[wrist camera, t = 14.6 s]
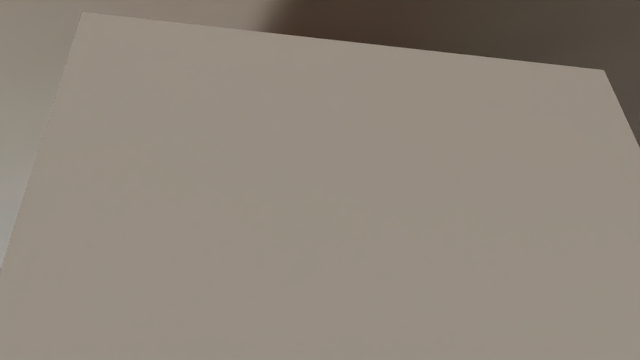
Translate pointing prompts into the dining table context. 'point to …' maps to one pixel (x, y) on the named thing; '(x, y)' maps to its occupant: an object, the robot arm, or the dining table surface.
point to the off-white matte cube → (322, 205)
